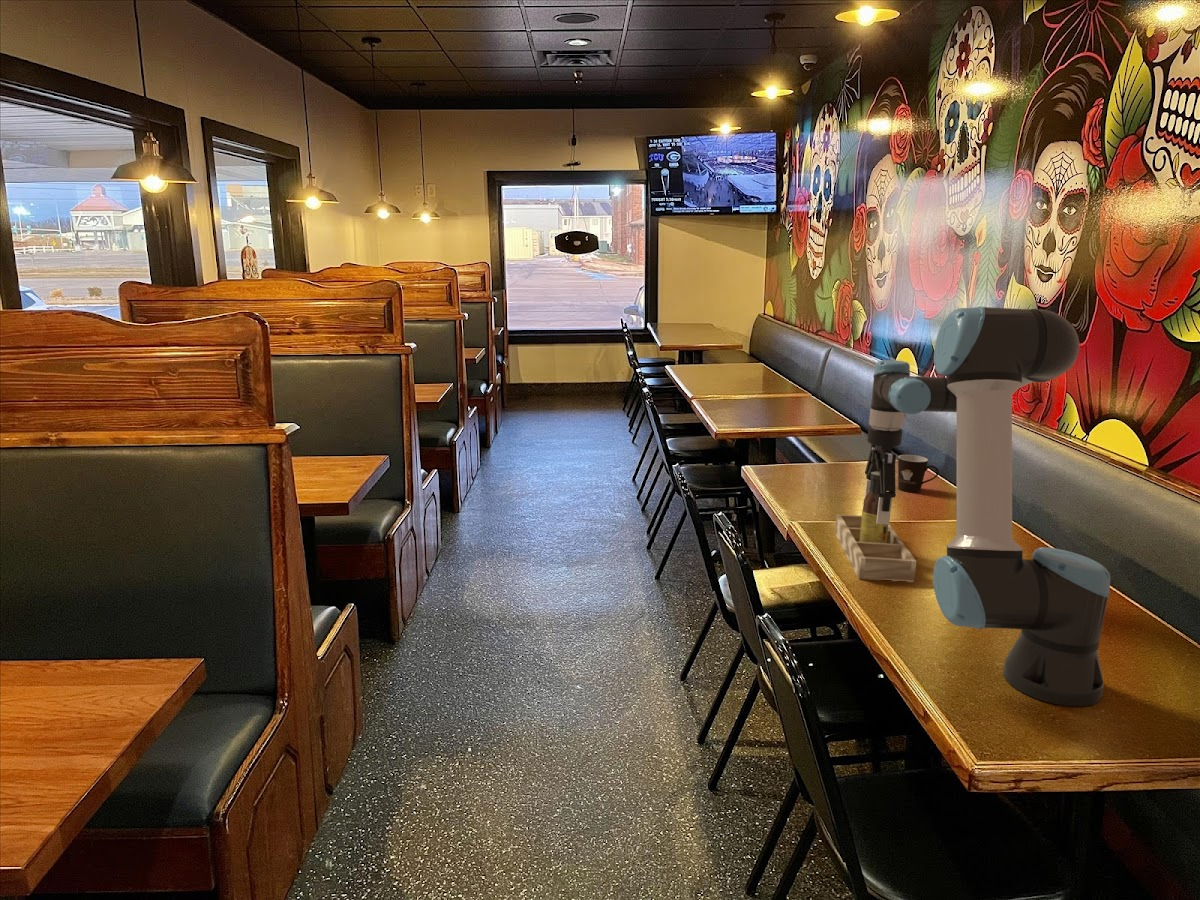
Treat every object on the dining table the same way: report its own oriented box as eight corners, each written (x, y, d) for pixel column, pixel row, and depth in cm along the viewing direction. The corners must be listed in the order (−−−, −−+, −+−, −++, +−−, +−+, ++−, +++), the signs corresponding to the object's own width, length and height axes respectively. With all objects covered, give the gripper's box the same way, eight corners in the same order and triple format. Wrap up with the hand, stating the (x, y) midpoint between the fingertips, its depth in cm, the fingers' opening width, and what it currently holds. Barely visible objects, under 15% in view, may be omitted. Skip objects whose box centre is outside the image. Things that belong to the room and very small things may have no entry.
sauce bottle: (886, 559, 198) (896, 478, 194) (859, 556, 200) (867, 476, 195) (883, 549, 205) (892, 471, 200) (856, 547, 206) (865, 469, 201)
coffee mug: (888, 487, 260) (892, 456, 258) (909, 484, 264) (913, 453, 261) (916, 497, 250) (920, 465, 248) (938, 494, 254) (942, 463, 251)
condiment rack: (913, 582, 187) (916, 561, 185) (858, 579, 188) (861, 558, 186) (881, 535, 217) (884, 517, 215) (834, 532, 218) (836, 514, 216)
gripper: (916, 440, 182) (905, 532, 187) (889, 417, 206) (880, 500, 211) (881, 438, 183) (871, 530, 188) (858, 416, 207) (849, 498, 212)
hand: (876, 514), depth 199 cm, fingers open, 13 cm apart
